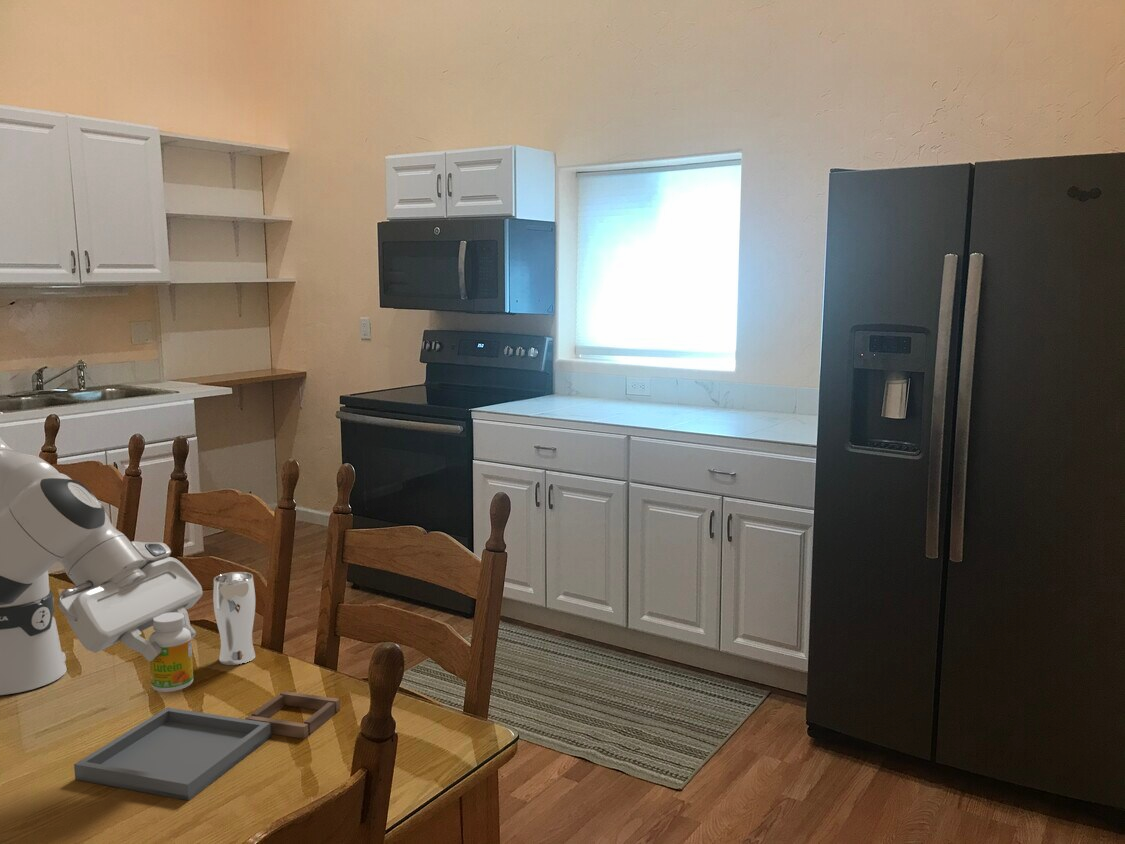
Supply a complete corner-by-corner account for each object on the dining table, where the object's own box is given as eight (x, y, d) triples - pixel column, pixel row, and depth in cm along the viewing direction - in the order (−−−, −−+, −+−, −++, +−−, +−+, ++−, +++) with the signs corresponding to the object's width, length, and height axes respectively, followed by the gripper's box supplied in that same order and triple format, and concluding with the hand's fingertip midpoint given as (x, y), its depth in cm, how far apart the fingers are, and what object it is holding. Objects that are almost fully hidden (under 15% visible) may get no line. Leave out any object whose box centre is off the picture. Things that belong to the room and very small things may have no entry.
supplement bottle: (148, 694, 126) (143, 625, 125) (154, 678, 131) (150, 612, 130) (191, 690, 128) (187, 621, 126) (195, 674, 133) (191, 608, 131)
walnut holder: (245, 729, 139) (245, 718, 139) (284, 701, 149) (283, 691, 149) (304, 738, 136) (304, 727, 136) (339, 709, 146) (339, 698, 146)
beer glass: (244, 648, 171) (240, 568, 169) (265, 657, 167) (262, 576, 165) (208, 659, 166) (204, 578, 164) (230, 669, 161) (226, 585, 159)
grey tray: (75, 779, 125) (74, 764, 125) (167, 721, 142) (167, 707, 142) (188, 800, 120) (187, 784, 120) (270, 737, 137) (270, 723, 137)
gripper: (63, 580, 119) (131, 662, 118) (173, 540, 139) (232, 610, 137) (38, 610, 121) (104, 691, 120) (150, 566, 141) (208, 636, 139)
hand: (174, 647), depth 129 cm, fingers closed on supplement bottle, 5 cm apart
